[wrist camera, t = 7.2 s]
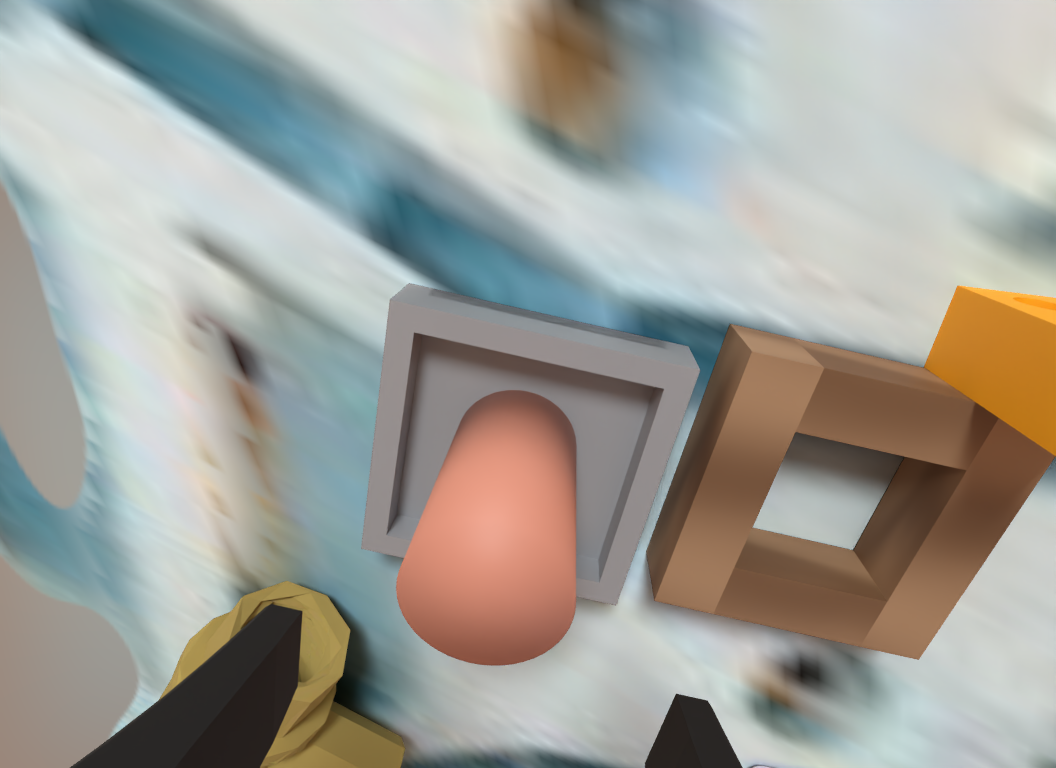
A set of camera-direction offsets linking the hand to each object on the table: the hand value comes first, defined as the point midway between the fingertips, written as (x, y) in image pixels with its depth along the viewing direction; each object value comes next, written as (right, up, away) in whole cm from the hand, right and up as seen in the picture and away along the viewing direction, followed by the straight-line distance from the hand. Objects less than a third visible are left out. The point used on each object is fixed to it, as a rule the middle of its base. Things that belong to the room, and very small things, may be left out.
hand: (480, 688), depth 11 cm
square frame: (+11, +3, +9) cm, 14 cm away
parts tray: (+1, +4, +9) cm, 10 cm away
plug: (0, +4, +8) cm, 9 cm away
